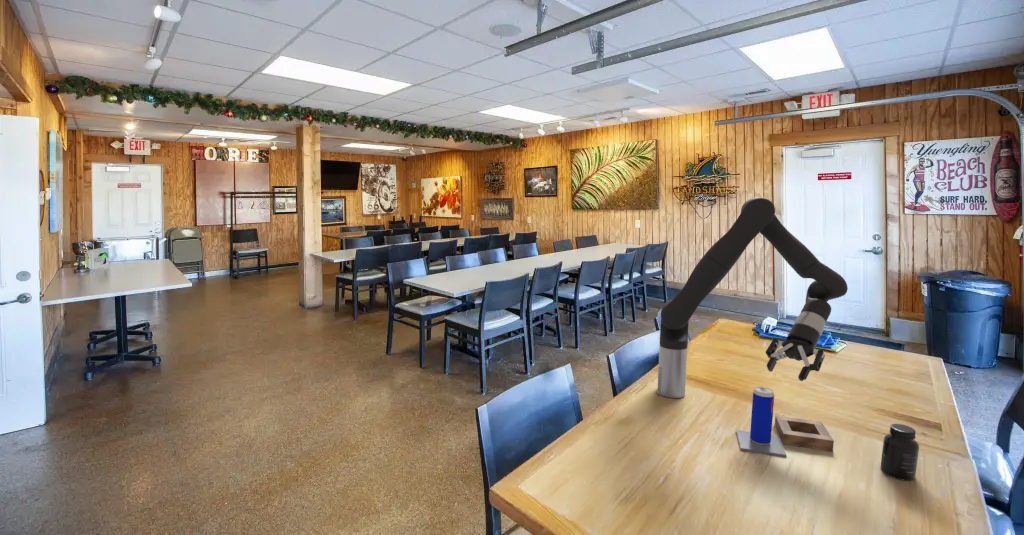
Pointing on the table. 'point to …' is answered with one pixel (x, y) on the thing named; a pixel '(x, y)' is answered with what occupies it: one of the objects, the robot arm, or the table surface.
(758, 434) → the beverage can
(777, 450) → the slate coaster
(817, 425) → the walnut holder
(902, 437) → the supplement bottle
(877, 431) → the table surface
